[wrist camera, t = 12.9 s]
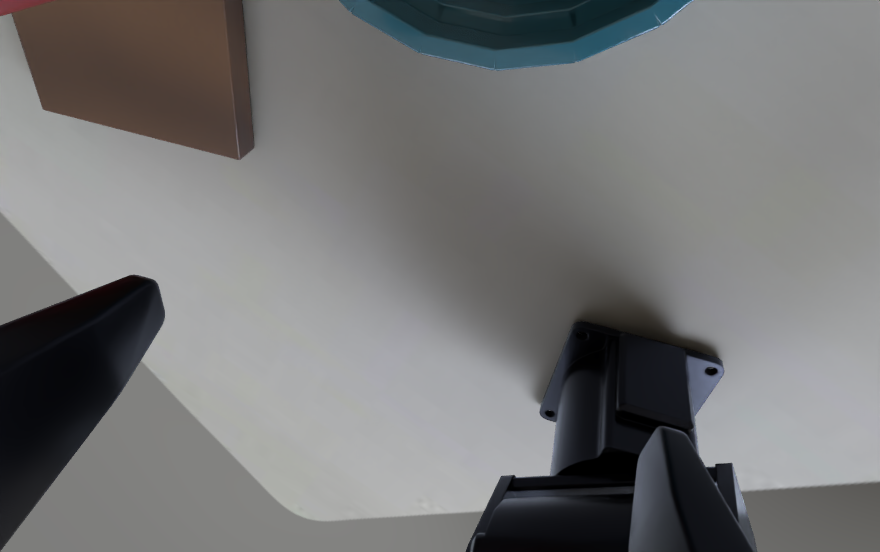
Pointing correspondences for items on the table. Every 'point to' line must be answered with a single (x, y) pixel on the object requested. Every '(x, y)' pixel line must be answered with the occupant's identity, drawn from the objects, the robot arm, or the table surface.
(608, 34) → the dish
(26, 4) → the can
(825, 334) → the table surface
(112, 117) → the board
